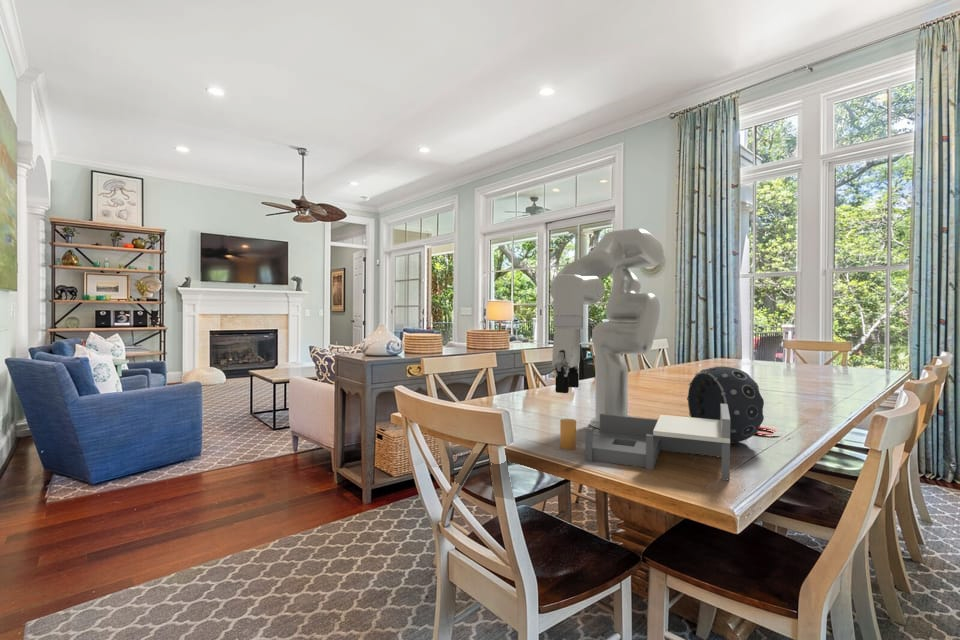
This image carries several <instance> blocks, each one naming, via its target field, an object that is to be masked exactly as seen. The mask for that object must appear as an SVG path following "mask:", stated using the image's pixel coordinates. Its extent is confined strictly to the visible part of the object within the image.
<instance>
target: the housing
mask: <svg viewBox="0 0 960 640" xmlns="http://www.w3.org/2000/svg"><path fill="white" fill-rule="evenodd" d="M658 419H659V418H650V417H639V416H629V415H628V416H619V415H609V414H600V429H599V432H598V433H597V434H596V435H595V436H594V427H586V428H585V429H584V430H585V439H584V440H585V443H584V444H585V451H584V452H585V454H584V455H585V458H584V459H585V461H586V462H590V463H591V462H593V461H595V462H603V463H609V464H610V463H611V464H617V465H622V464H623V465H624V466H630V465H631V467H637V466H638V467H639V468H644V467H645V470H648V471H654V469H655V466H656V463H657V460H658V457H659V454H660V451H662V450H663V451H664V452H672V453H679V452H680V453H679V454H687V453H690V454H689V455H695V454H701V455H700V456H704V455H709V456H708V457H712V456H719V457H718V458H720V457H722V458H721V480H722V479H728V480H730V481H731V478H730V477H731V461H730V460H731V443H721V442H711V441H702V440H693V439H684V438H674V437H665V436H656V435H653V430H654V428H655V426H656V423H657V421H658ZM623 465H622V466H623ZM638 467H637V468H638Z"/></svg>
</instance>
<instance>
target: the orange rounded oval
mask: <svg viewBox="0 0 960 640" xmlns="http://www.w3.org/2000/svg"><path fill="white" fill-rule="evenodd" d="M559 425H560V426H559V429H560V433H559V437H560V438H559V445H560V447H559V448H560V449H561V448H562V450H566V451H573V450H576V449H577V420H576V419H575V418H561V419H560V421H559Z"/></svg>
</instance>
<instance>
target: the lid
mask: <svg viewBox="0 0 960 640" xmlns="http://www.w3.org/2000/svg"><path fill="white" fill-rule="evenodd" d="M657 419H658V421H657V423H656V426H655V428H654V430H653V435H656V436H665V437H674V438H684V439H693V440H702V441H711V442H721V443H730V415H729V410H728V404H721V403H720V420H714V419H703V418H692V417H691V416H679V415H668V414H660V415H659V417H658V418H657ZM730 444H731V443H730Z"/></svg>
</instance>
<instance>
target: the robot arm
mask: <svg viewBox="0 0 960 640" xmlns="http://www.w3.org/2000/svg"><path fill="white" fill-rule="evenodd" d="M664 253H665V252H664V247H663V245H662V242H661V241H660V240H659V239H658V238H657V237H656V236H655V235H653V234H652V233H650V232H649V231H647V230H645V229H643V228H638V227H637V228H629V229H621V230H620V229H619V230H612V231H609V232H607V233H605V234H604V235H603V236H602V237H601V238H600V240H599V242H597V244H596V246H594V248H593V249H592V250H591V252H589V253H588V254H586V255H584V256H581V257H580V258H578V259H576V260H574V261H572V262H570V263H568V264H566V265H565V266H564V267H562V268H561V270H560V271H558V273H557V274H556V275H555V276H554V278H553V280H552V282H551V286H550V295H551V298H552V300H553V302H552V306H553V307H552V309H553V310H552V329H554V333H553V340H552V341H553V342H552V357H551V358H552V361H551V365H552V367H553V368H555V387H554V389H555V393H559V394H568V393H569V392H570V390H569V389H570V388H579V386H580V385H579V382H580V381H579V380H580V379H579V374H580V373H579V372H580V368H579V364H580V363H581V338H580V337H581V334H580V329H581V330H583V329H584V305H588V304H589V305H590V304H592V305H593V304H596V303H598V302H601V300H603V297H604V296H605V293H606V288H605V287H606V286H605V282H603V280H602V279H603V278H606V277H608V276H610V275H611V276H612V279H613V280H612V287H611V290H610V295H609V297H608V299H607V300H608V301H607V303H606V307H605V318H606V319H607V320H608V321H601V322H600V323H598V324H596V325H595V326H594V328H593V330H592V333H591V337H592V339H591V340H592V345H593V346H592V347H593V350H594V359H595V360H594V361H595V372H594V373H595V376H594V377H595V378H594V379H595V384H594V385H595V391H594V392H595V400H594V401H595V403H594V404H595V411H594V412H595V415H594V416H595V417H594V418H591V419H590V421H589V424H590V426H591V427H592V428H596V429H599V430H600V414H609V415H619V416H629V368H628V364H627V363H626V361H625V359H624V358H623V356H622V355H636V356H637V355H640V356H641V355H646V354H648V353H650V352H651V350H652V348H653V347H652V346H653V344H654V340H655V337H656V331H657V327H658V323H659V320H660V319H659V318H660V315H661V314H660V313H661V306H660V305H661V304H660V300H659V298H658V297H657V296H656V294H653V293H651V292H641V288H642V286H641V282H640V279H638V277H637V276H636V275H635V274H634V273H633V272H632V271H631V270H630V269H633V268H634V269H635V268H636V269H637V268H651V267H657V266H659V265H660V264H661V263H662V261H663V259H664Z"/></svg>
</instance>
